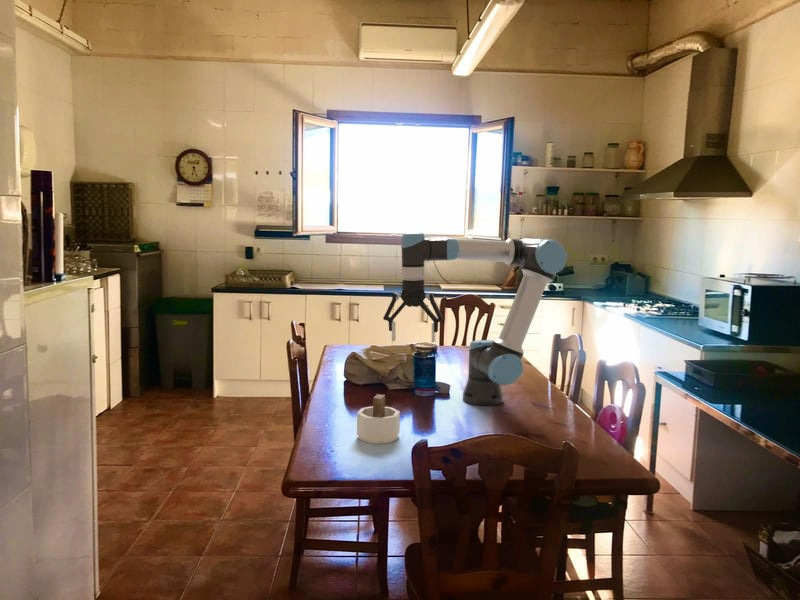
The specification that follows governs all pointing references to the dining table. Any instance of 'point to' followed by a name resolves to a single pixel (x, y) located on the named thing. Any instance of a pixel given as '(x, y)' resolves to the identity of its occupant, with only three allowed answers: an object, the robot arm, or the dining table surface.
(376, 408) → the brown rectangular block
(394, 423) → the white short hollow cylinder
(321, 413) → the dining table surface
